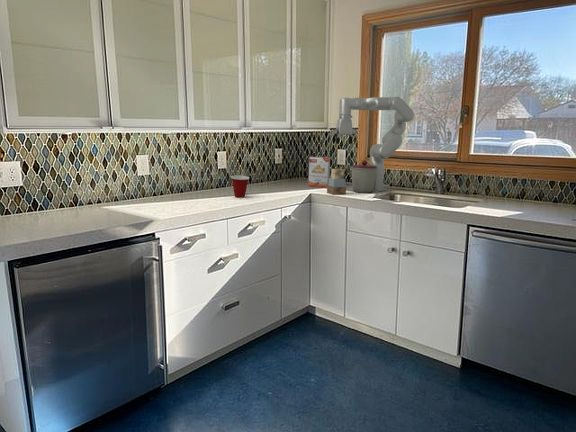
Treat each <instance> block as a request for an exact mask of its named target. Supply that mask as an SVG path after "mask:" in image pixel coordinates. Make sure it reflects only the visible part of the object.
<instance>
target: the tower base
mask: <svg viewBox="0 0 576 432" xmlns="http://www.w3.org/2000/svg"><path fill="white" fill-rule="evenodd" d="M326 194H329V195H333V196H340V195H341V196H342V195H344V196H346V194H347V186H345V187H332V186H329V185H328V186H327V187H326Z"/></svg>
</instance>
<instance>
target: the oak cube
mask: <svg viewBox="0 0 576 432" xmlns="http://www.w3.org/2000/svg"><path fill="white" fill-rule="evenodd" d="M330 170H331V174H330V178H333V179H345V178H344V176H345V169H343V168H331V169H330Z"/></svg>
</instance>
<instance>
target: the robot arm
mask: <svg viewBox="0 0 576 432" xmlns="http://www.w3.org/2000/svg"><path fill="white" fill-rule="evenodd" d="M338 109H339V111H338V114H339V115H338V119H337V123H336V129H335V128H334V129H333V130H332V134H333V137H335V144H336V145H340V136H348V137H349V138H348V144H350V145H353V140H354V136H355V135H356V132H357V130H355V129H354V128H353V121H352V118H353V115H352V111H395V112H394V115H393V118H394V123H393V125H392V127H391V128H390V129H389V130H388V131H387V132H386V133H385V134H384V135H383V137H381V138H382V139H381V143H375V144H373V145H372V146H371V147H370V149H369V160H370V164H369V165H374V166H376V167H377V168H378V169H377V173H376V179H375V184H374V189H373V191H372V192H384V191H385V190H386V188H389V187H390V185H389V184H385V183H384V174H385V160H387V159H388V158H390V157H391V156H392V155H393V154H394V153H395V152H396V151H397V150H398V149H399V148H400V147H401V145H402V143H403V137H402V135H404V133H405V130H406V123H408V122H409V123H410V122H411V121H413V119H414V117H415V113H414V111H413V109H412V108H411V106H409V105H408V104H407V102H406V101H405V100H404V98H402V97H400V96H393V97H391V96H389V97H386V96H385V97H384V96H383V97H381V96H380V97H377V96H375V97H366V98H365V97H364V98H361V97H352V98H350V97H340V99H339V108H338Z"/></svg>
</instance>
